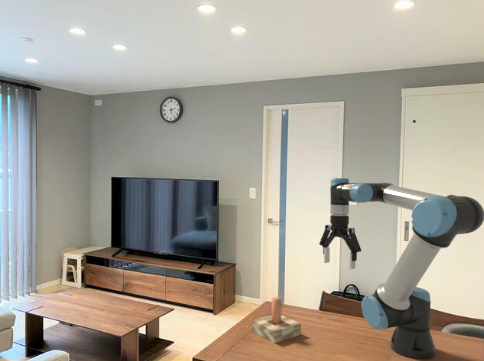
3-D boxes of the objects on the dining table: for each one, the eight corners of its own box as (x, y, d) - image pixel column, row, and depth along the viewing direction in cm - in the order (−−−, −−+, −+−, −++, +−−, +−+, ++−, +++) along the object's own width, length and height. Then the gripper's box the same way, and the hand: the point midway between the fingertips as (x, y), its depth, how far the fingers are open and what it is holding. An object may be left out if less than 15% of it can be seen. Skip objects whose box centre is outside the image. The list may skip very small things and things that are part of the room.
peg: (283, 333, 155) (283, 299, 155) (275, 335, 152) (276, 300, 152) (276, 330, 158) (277, 296, 158) (269, 332, 156) (269, 298, 156)
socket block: (300, 334, 154) (300, 323, 154) (274, 343, 146) (274, 331, 145) (278, 323, 165) (278, 313, 165) (252, 331, 157) (252, 320, 157)
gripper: (370, 216, 151) (370, 270, 151) (323, 212, 171) (323, 259, 172) (358, 217, 147) (358, 272, 147) (311, 212, 167) (311, 261, 167)
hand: (339, 265), depth 159 cm, fingers open, 13 cm apart
